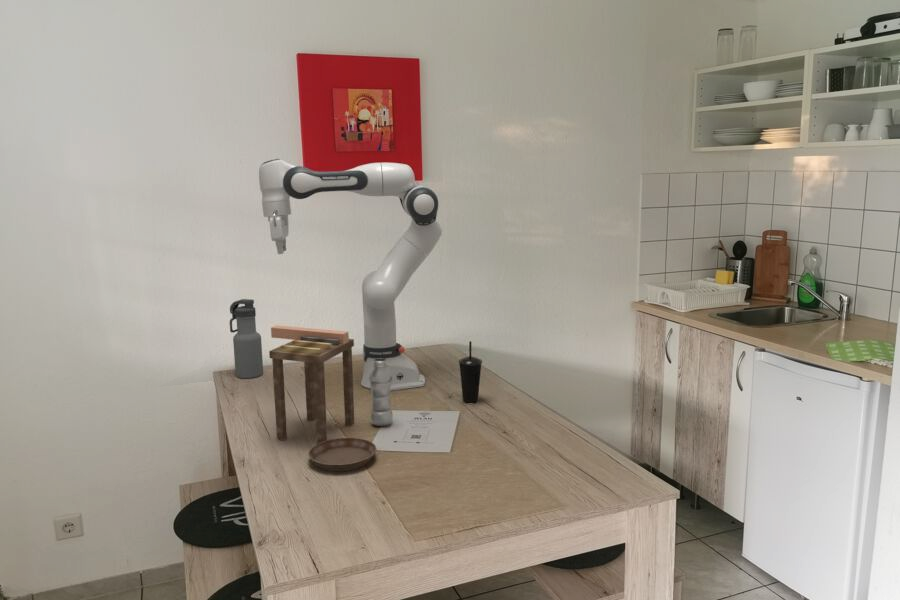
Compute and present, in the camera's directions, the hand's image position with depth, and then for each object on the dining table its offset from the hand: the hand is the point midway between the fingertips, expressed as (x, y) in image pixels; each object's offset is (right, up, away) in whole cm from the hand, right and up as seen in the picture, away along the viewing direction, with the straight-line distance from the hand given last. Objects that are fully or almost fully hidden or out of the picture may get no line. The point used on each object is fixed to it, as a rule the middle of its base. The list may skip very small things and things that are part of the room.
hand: (282, 252), depth 232 cm
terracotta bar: (+14, -27, -26) cm, 41 cm away
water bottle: (-18, -43, +27) cm, 54 cm away
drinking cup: (+62, -49, -2) cm, 79 cm away
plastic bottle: (+35, -53, -22) cm, 67 cm away
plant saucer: (+27, -58, -46) cm, 79 cm away
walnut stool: (+17, -54, -27) cm, 63 cm away
